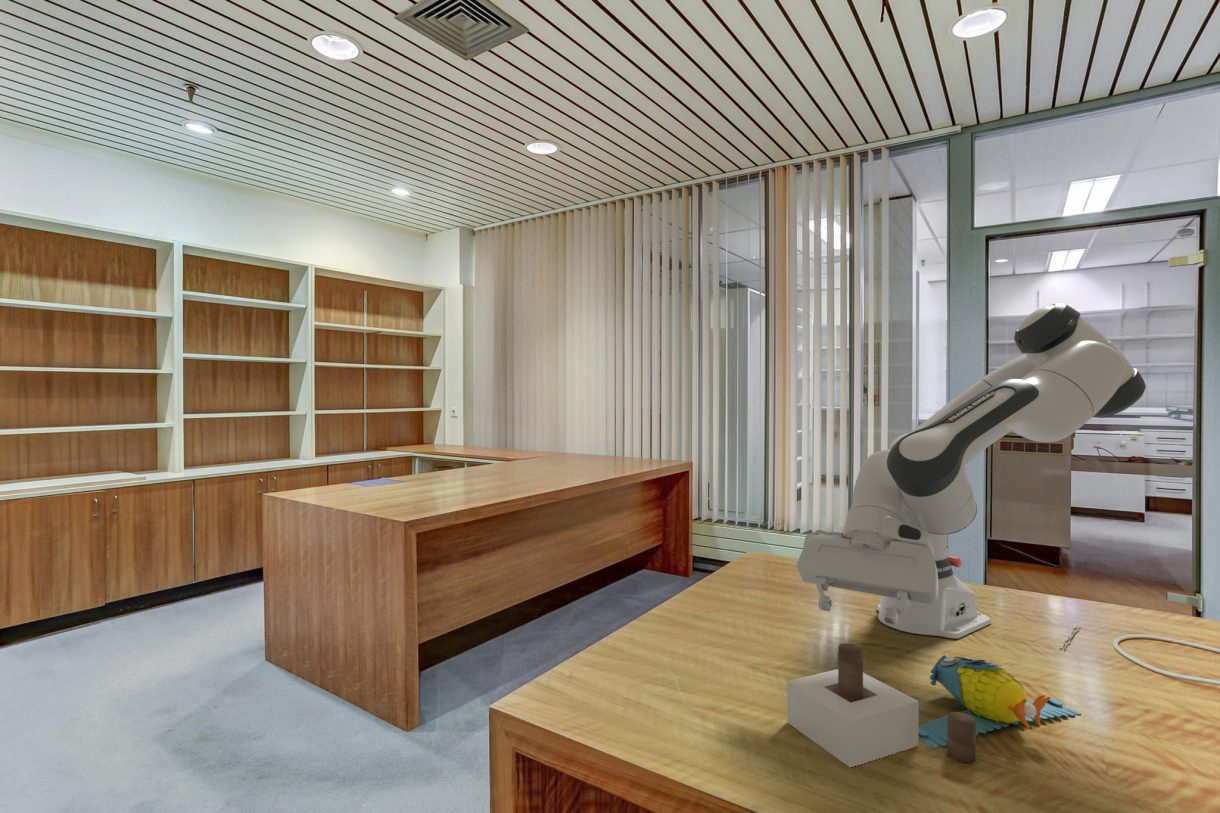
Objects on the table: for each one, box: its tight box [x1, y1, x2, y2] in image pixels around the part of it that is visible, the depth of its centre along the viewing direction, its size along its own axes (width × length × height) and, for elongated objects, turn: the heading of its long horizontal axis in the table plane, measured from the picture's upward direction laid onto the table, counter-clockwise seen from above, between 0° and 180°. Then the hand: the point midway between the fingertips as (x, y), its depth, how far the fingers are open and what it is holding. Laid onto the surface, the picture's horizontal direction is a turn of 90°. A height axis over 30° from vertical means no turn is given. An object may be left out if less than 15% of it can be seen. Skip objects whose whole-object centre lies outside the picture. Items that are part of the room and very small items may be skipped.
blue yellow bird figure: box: [919, 654, 1082, 749], centre depth 90 cm, size 28×9×15 cm
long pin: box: [837, 642, 864, 703], centre depth 86 cm, size 3×3×12 cm
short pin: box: [947, 711, 977, 765], centre depth 80 cm, size 3×3×5 cm
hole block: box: [786, 668, 920, 769], centre depth 86 cm, size 12×12×6 cm
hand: (856, 615), depth 91 cm, fingers open, 8 cm apart
